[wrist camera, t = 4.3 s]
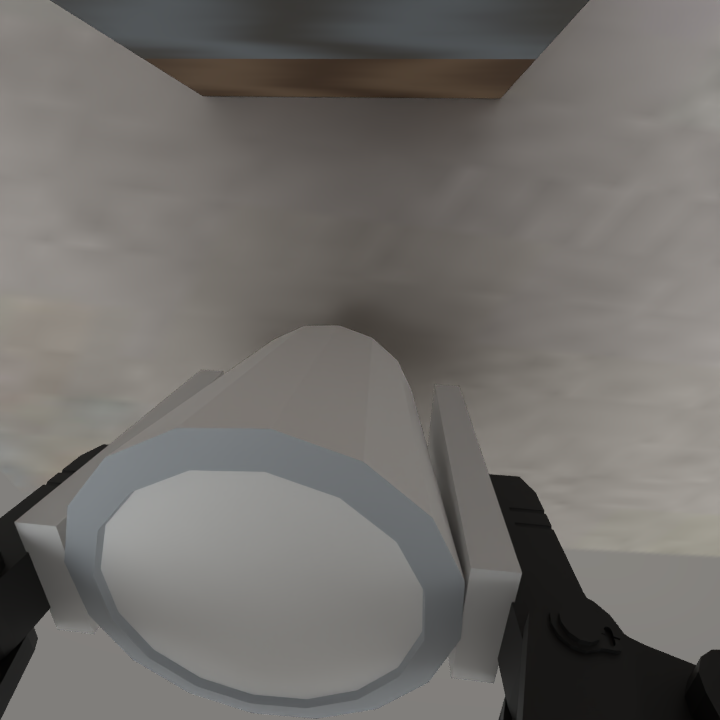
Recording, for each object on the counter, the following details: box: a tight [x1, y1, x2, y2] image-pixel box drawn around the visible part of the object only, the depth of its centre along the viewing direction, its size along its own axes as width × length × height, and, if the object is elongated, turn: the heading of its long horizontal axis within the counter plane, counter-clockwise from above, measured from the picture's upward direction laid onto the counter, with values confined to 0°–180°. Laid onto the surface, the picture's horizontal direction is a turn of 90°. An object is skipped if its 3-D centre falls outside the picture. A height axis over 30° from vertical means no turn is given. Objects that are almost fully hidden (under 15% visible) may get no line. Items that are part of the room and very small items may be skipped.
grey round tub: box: [64, 325, 465, 719], centre depth 10 cm, size 7×7×7 cm
